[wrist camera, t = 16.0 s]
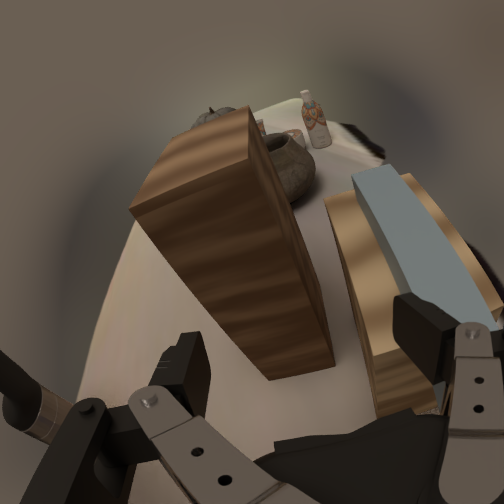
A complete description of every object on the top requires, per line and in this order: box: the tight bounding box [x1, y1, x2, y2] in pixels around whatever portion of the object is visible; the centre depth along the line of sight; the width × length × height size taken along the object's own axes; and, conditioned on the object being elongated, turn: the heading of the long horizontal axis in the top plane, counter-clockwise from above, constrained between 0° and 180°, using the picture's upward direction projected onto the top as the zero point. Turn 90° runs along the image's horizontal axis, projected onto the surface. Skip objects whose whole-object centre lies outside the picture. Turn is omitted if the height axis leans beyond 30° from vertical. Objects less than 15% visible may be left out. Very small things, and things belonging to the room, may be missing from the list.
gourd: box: [191, 107, 236, 129], centre depth 128 cm, size 25×25×17 cm
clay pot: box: [262, 133, 316, 203], centre depth 71 cm, size 22×21×15 cm
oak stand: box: [323, 173, 504, 419], centre depth 29 cm, size 18×10×22 cm, turn 1°
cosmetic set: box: [256, 90, 332, 149], centre depth 86 cm, size 25×9×19 cm, turn 89°
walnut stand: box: [129, 105, 335, 381], centre depth 36 cm, size 16×10×32 cm, turn 1°
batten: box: [351, 164, 499, 411], centre depth 17 cm, size 26×4×3 cm, turn 0°
